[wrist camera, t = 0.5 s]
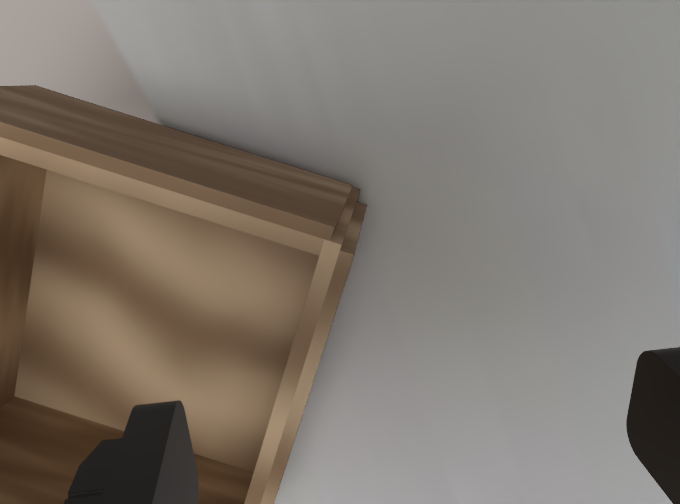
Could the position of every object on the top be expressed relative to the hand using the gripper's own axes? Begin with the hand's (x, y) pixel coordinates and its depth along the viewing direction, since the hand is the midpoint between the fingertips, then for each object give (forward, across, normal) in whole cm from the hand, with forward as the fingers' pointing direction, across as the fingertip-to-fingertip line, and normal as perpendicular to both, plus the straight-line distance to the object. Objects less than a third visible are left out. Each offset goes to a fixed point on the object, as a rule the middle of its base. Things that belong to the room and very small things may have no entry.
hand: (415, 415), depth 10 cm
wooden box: (+21, +9, +8) cm, 24 cm away
